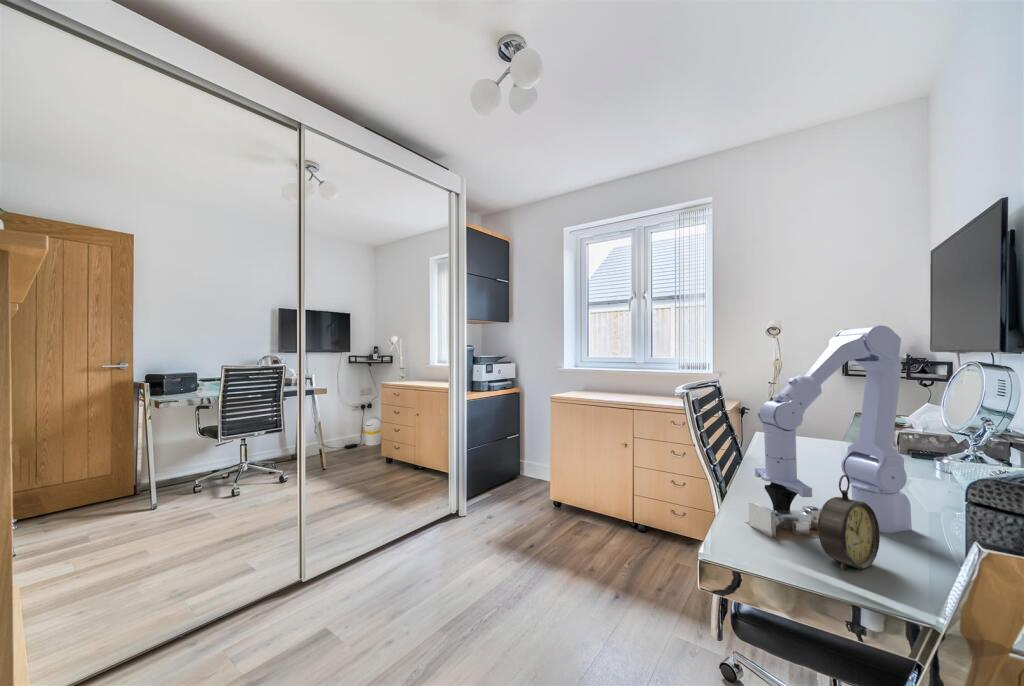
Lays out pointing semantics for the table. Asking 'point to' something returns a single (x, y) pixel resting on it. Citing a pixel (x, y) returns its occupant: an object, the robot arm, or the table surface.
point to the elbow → (800, 516)
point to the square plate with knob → (772, 521)
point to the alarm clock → (848, 530)
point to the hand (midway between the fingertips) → (782, 519)
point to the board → (792, 534)
